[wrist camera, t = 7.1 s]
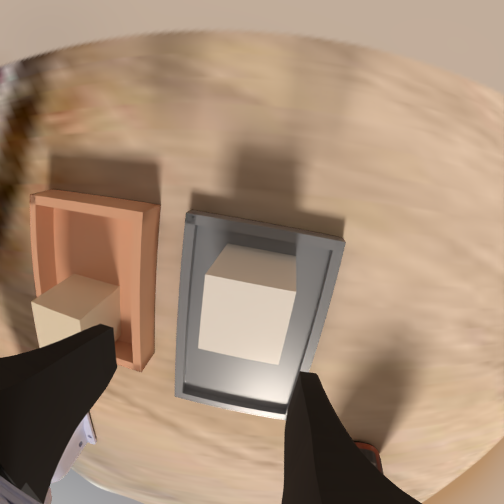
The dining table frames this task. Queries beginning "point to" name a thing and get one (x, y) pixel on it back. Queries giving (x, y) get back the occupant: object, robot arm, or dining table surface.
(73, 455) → the robot arm
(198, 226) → the parts tray
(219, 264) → the cream cube on tray
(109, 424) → the dining table surface
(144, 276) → the terracotta dish
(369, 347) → the dining table surface
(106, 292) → the tan cube
